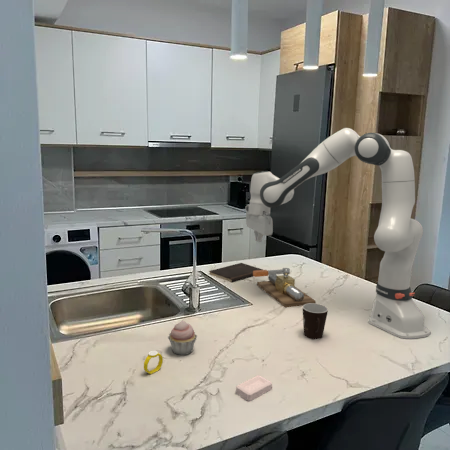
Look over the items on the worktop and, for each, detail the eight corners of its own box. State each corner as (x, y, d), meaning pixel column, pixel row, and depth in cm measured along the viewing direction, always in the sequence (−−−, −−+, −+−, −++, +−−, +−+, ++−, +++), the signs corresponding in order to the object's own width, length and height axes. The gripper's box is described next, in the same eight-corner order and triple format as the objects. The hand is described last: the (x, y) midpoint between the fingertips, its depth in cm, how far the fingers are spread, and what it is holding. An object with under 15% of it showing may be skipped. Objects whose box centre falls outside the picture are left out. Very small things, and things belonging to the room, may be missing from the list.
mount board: (315, 304, 179) (315, 300, 179) (285, 307, 174) (285, 304, 174) (284, 282, 205) (284, 279, 204) (257, 285, 200) (257, 281, 200)
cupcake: (195, 342, 142) (196, 314, 140) (198, 356, 133) (199, 326, 131) (166, 344, 141) (167, 315, 139) (168, 358, 132) (168, 327, 130)
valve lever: (287, 272, 190) (287, 267, 189) (290, 274, 187) (291, 269, 186) (252, 274, 184) (252, 270, 184) (255, 277, 181) (255, 272, 181)
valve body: (305, 302, 178) (306, 283, 177) (293, 303, 176) (294, 284, 175) (277, 282, 202) (278, 265, 200) (266, 283, 200) (267, 266, 199)
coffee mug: (304, 327, 156) (306, 301, 154) (328, 333, 152) (330, 306, 150) (294, 340, 146) (296, 312, 144) (320, 346, 142) (322, 318, 140)
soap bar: (272, 390, 118) (273, 381, 117) (249, 402, 112) (249, 394, 111) (258, 381, 121) (258, 373, 121) (234, 393, 115) (235, 385, 115)
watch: (148, 378, 121) (147, 359, 120) (142, 374, 123) (141, 355, 121) (165, 368, 126) (163, 350, 124) (158, 365, 127) (157, 347, 126)
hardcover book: (208, 275, 213) (208, 271, 213) (241, 266, 229) (241, 262, 229) (231, 283, 202) (232, 279, 202) (264, 274, 218) (264, 269, 218)
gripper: (277, 213, 174) (275, 246, 177) (257, 205, 193) (255, 235, 196) (263, 214, 172) (261, 247, 175) (244, 205, 191) (242, 236, 194)
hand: (258, 241), depth 186 cm, fingers closed
